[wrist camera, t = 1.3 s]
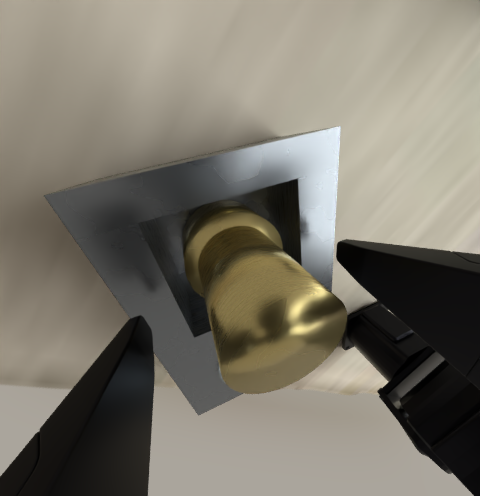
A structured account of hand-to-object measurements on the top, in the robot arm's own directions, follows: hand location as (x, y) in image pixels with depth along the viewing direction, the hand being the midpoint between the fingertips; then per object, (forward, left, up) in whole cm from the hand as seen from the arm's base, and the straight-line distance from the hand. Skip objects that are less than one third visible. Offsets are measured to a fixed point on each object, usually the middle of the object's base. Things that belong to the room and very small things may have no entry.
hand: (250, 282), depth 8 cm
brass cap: (0, 0, -5) cm, 5 cm away
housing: (-3, 0, -6) cm, 7 cm away
